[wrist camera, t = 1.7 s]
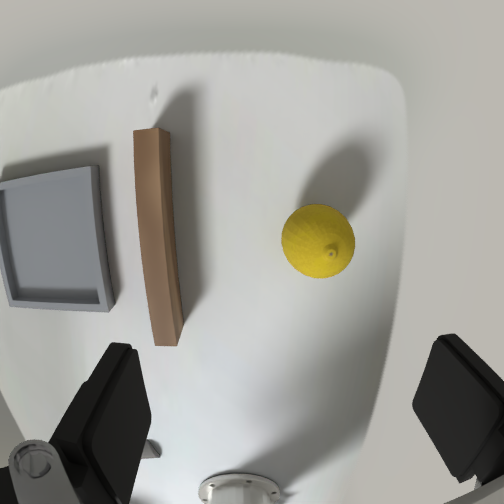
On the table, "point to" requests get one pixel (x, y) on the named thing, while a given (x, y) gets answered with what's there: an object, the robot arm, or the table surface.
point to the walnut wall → (157, 233)
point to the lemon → (318, 241)
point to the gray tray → (55, 242)
